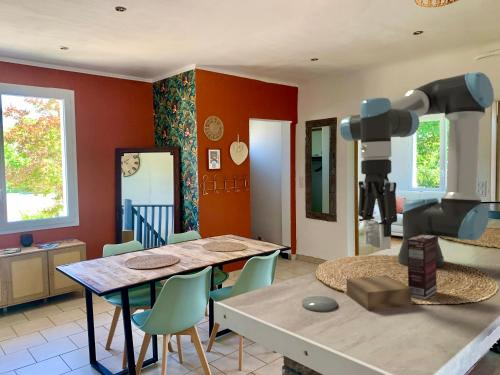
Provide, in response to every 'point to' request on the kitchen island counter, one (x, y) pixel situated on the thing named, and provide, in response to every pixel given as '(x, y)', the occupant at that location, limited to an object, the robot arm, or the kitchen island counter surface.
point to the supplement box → (422, 266)
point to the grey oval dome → (319, 303)
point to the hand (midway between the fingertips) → (377, 246)
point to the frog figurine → (373, 233)
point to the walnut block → (379, 292)
